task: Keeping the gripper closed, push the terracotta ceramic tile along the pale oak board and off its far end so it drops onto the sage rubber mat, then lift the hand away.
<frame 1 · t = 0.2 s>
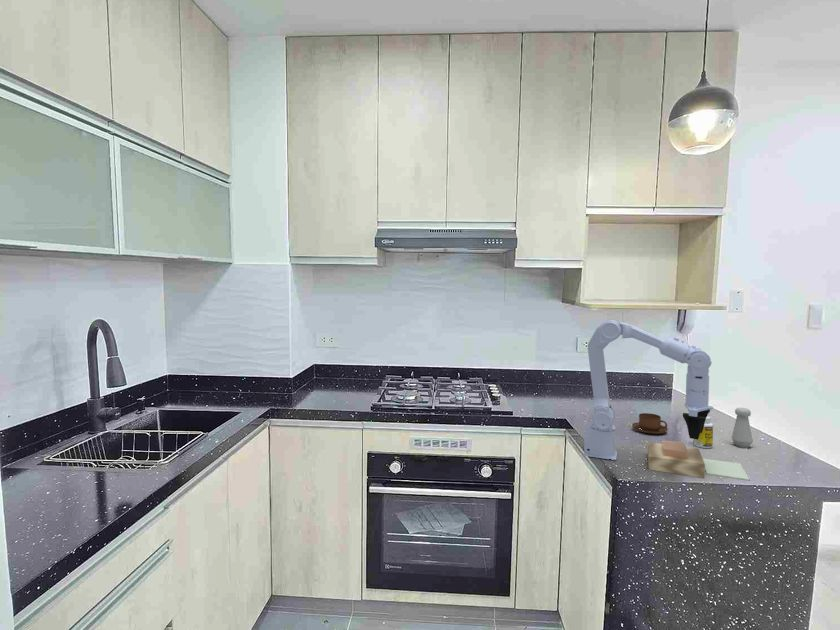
hand: (695, 435, 130), 10 cm above the table, tool pointing down, fingers open, 7 cm apart
sage mat: (723, 469, 130), on the table
oak board: (674, 465, 133), on the table
supplement bottle: (702, 446, 150), on the table
salt shaker: (742, 446, 150), on the table
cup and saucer: (649, 432, 167), on the table
terracotta tile: (674, 452, 133), point 4 cm above the table, touching oak board
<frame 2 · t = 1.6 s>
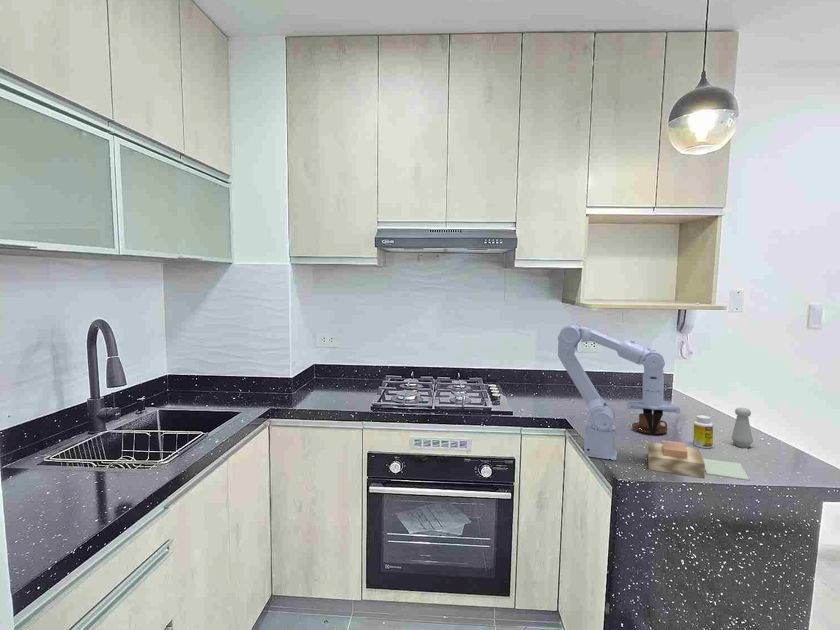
hand: (652, 433, 135), 9 cm above the table, tool pointing down, fingers closed
nothing on the table moved.
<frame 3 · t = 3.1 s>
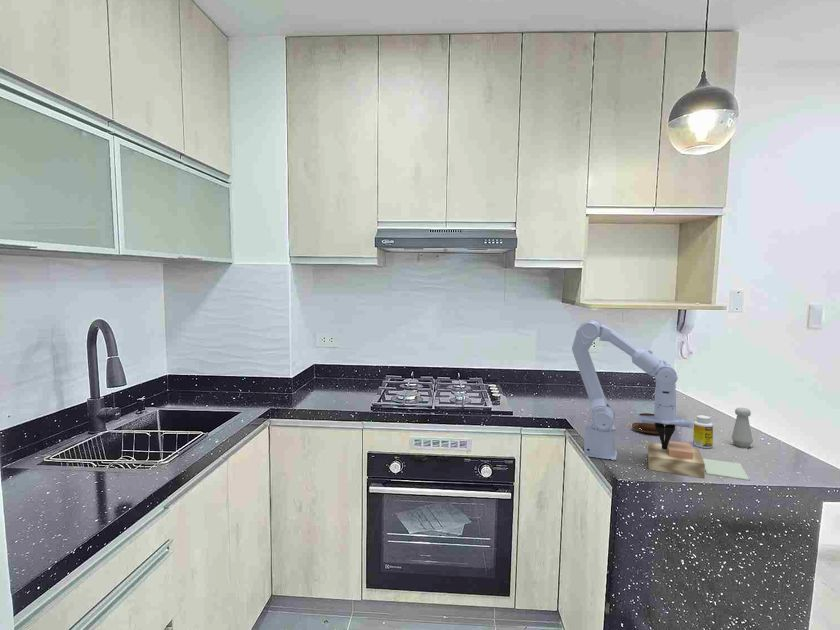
hand: (664, 448, 134), 5 cm above the table, tool pointing down, fingers closed
terracotta tile: (679, 453, 132), point 4 cm above the table, touching oak board
everything else where it was.
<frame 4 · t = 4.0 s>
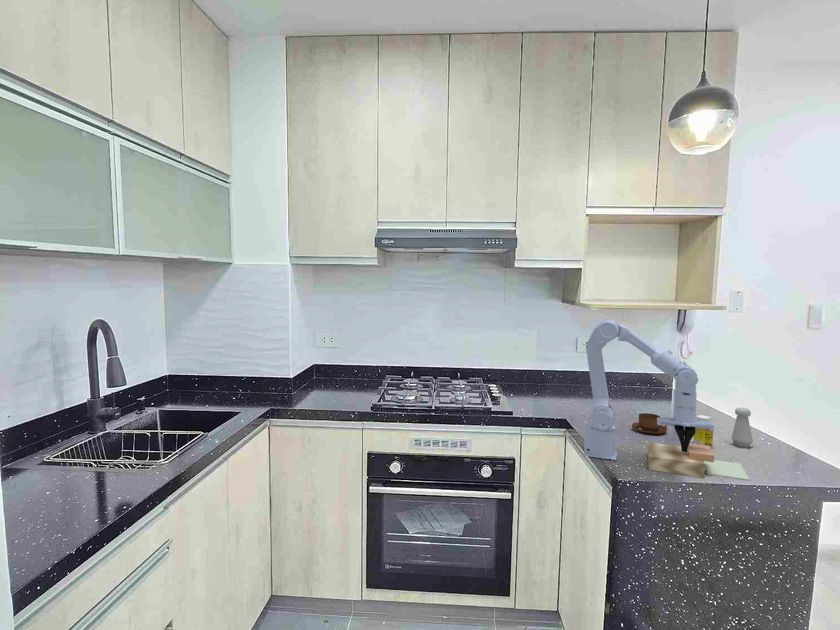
hand: (684, 450, 132), 5 cm above the table, tool pointing down, fingers closed
terracotta tile: (699, 455, 130), point 4 cm above the table, touching gripper, oak board
everything else where it was.
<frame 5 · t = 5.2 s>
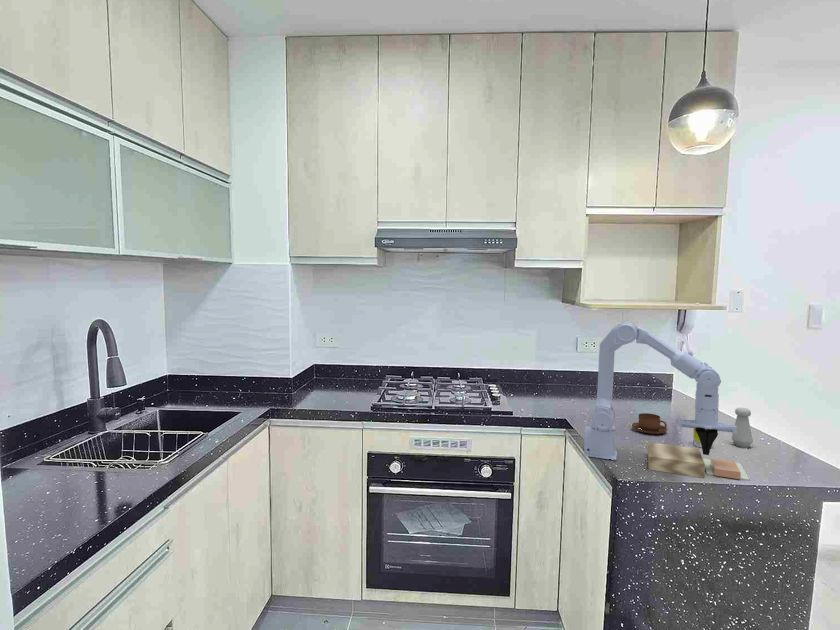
hand: (705, 453, 129), 5 cm above the table, tool pointing down, fingers closed
terracotta tile: (724, 464, 127), point 2 cm above the table, tilted 180°, touching sage mat
everything else where it was.
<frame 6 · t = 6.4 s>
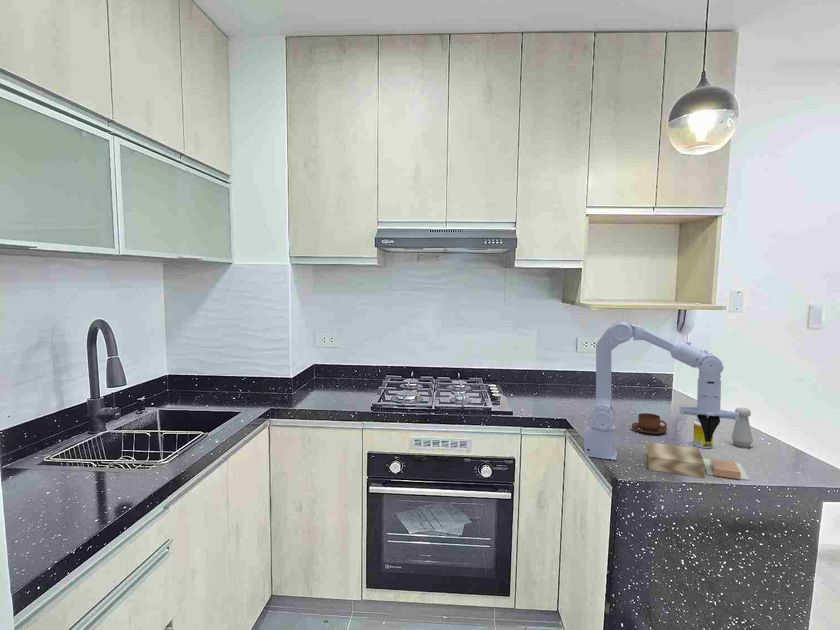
hand: (707, 441, 129), 9 cm above the table, tool pointing down, fingers closed
nothing on the table moved.
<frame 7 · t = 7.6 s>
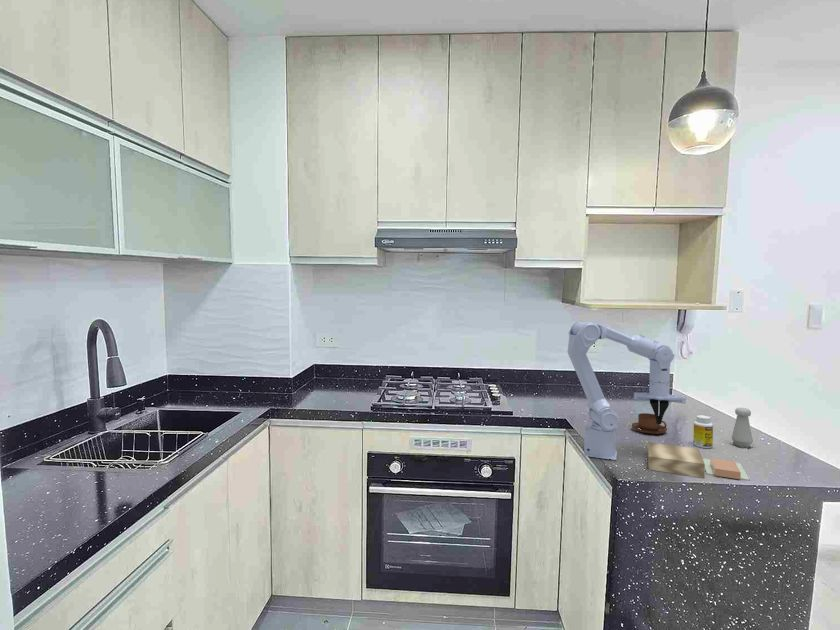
hand: (658, 423, 141), 10 cm above the table, tool pointing down, fingers closed
nothing on the table moved.
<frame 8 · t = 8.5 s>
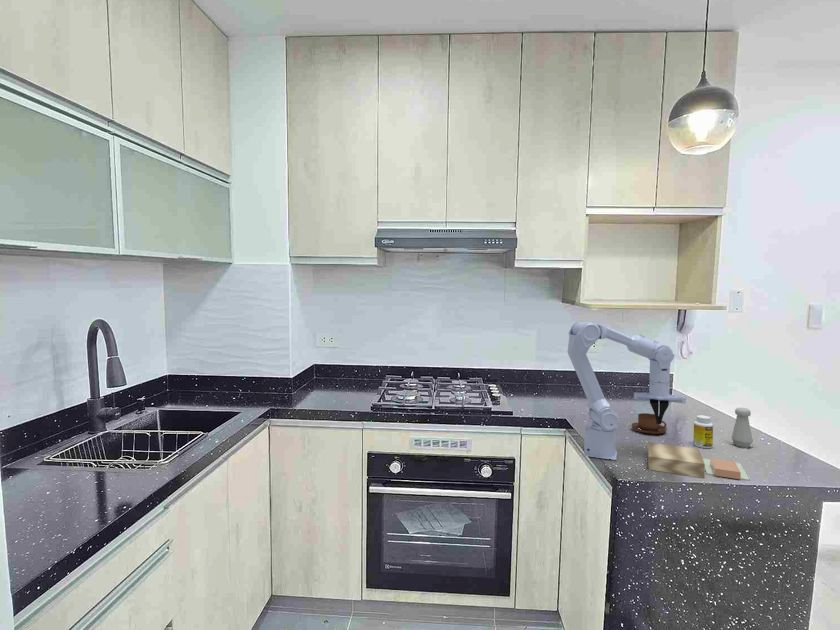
hand: (658, 423, 141), 10 cm above the table, tool pointing down, fingers closed
nothing on the table moved.
at the end: terracotta tile inside the target area (2.8 cm from its centre), point 2.3 cm above the table; terracotta tile touching sage mat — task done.
